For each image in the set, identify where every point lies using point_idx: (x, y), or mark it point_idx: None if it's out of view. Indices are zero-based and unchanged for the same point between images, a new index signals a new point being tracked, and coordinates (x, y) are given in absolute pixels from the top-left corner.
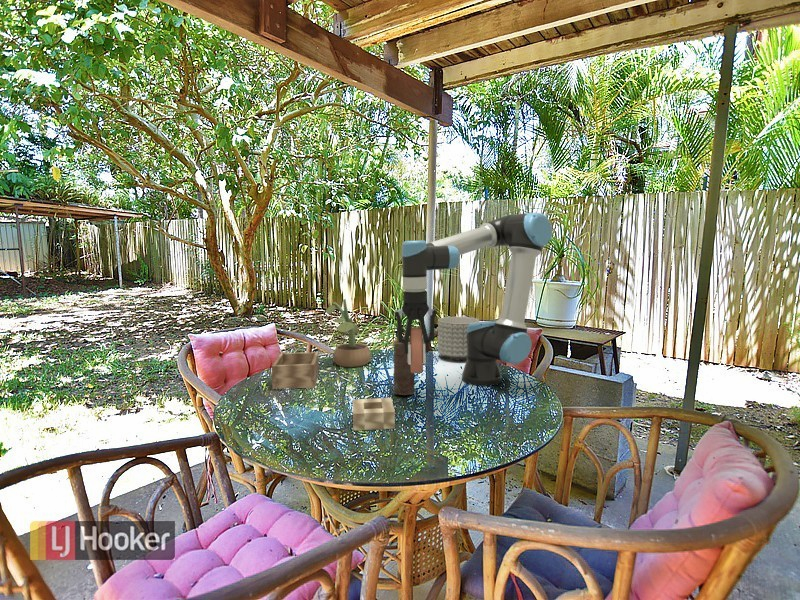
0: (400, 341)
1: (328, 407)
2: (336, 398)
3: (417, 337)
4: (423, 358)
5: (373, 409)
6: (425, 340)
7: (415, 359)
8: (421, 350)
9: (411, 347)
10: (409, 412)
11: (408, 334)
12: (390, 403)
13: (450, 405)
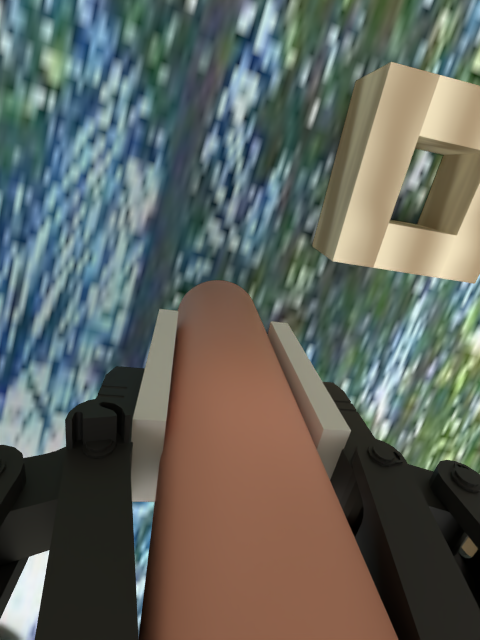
0: (463, 468)
1: (473, 346)
2: (422, 408)
3: (265, 486)
4: (173, 329)
5: (460, 134)
6: (117, 459)
7: (247, 323)
8: (189, 369)
9: (298, 409)
10: (247, 234)
11: (419, 568)
12: (363, 190)
13: (67, 261)
